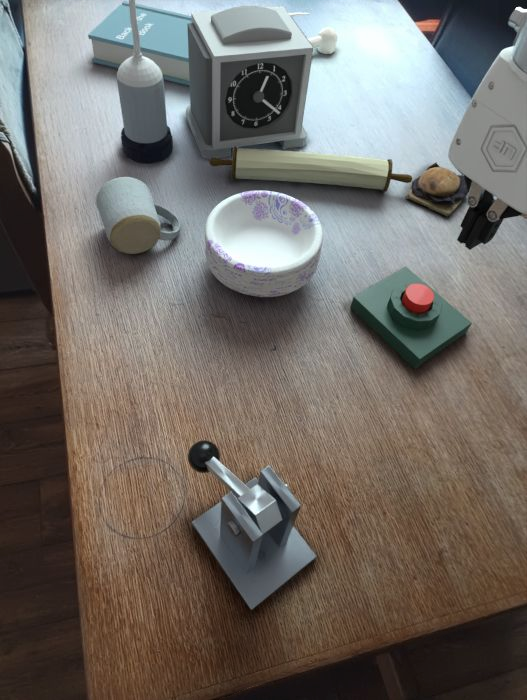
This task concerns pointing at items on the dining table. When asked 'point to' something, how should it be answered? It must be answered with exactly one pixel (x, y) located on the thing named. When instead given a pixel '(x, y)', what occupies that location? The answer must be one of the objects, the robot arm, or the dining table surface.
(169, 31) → the book
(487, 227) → the robot arm
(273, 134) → the alarm clock
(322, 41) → the faucet
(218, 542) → the tap bracket
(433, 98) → the dining table surface
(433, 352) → the button block
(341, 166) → the rolling pin
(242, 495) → the tap lever
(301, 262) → the paper bowls
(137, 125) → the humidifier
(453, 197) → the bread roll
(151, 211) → the ceramic mug
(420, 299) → the button
